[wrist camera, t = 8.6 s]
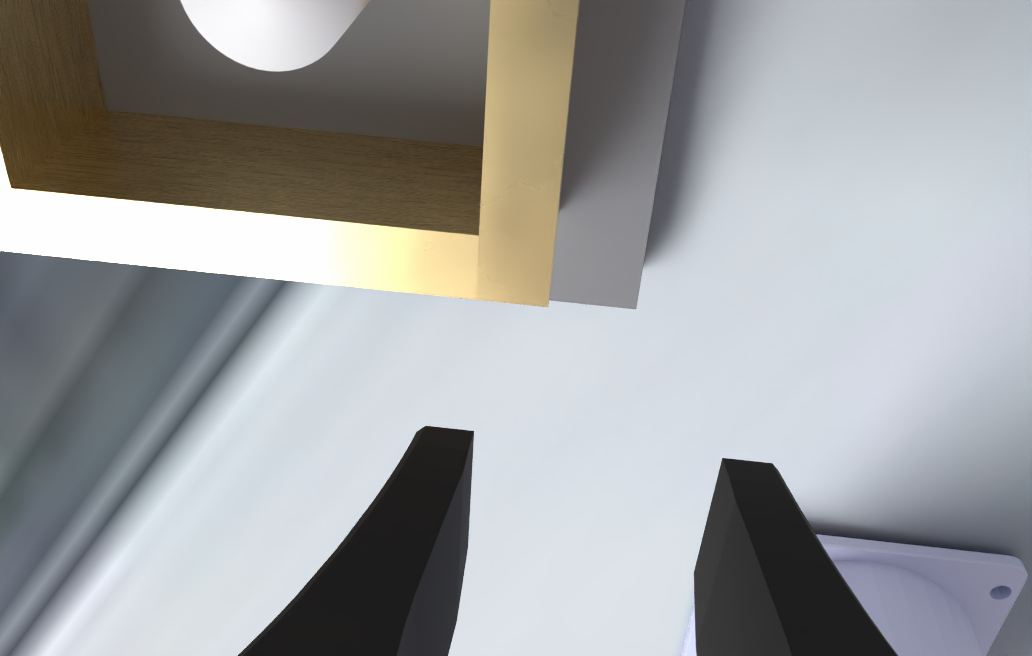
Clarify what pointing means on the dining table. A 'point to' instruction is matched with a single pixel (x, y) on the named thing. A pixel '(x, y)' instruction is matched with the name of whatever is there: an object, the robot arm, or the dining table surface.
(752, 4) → the dining table surface
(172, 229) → the gold square frame
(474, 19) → the grey piece
